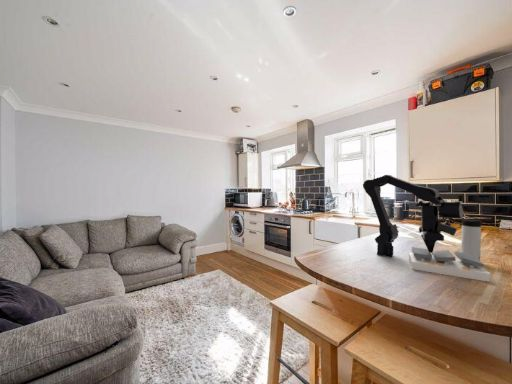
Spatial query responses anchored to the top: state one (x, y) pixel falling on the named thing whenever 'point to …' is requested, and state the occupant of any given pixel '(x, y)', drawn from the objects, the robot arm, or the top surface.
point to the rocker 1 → (421, 253)
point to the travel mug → (471, 237)
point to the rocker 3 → (468, 259)
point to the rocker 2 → (443, 255)
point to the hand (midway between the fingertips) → (430, 252)
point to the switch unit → (449, 268)
